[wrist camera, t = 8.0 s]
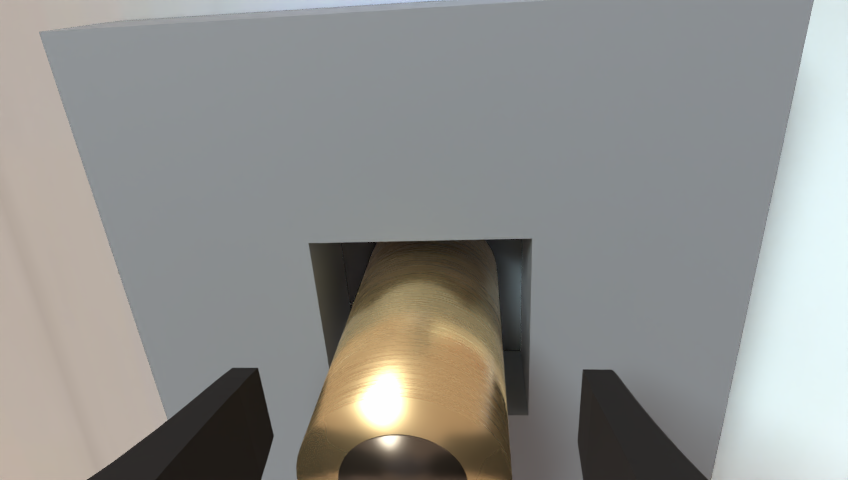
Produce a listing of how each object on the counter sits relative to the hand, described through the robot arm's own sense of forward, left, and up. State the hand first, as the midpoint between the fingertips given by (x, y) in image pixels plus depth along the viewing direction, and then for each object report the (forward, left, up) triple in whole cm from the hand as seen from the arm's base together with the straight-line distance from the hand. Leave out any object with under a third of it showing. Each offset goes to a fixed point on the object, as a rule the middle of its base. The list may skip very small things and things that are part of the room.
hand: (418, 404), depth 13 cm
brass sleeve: (0, 0, -6) cm, 6 cm away
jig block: (0, 0, -6) cm, 6 cm away
